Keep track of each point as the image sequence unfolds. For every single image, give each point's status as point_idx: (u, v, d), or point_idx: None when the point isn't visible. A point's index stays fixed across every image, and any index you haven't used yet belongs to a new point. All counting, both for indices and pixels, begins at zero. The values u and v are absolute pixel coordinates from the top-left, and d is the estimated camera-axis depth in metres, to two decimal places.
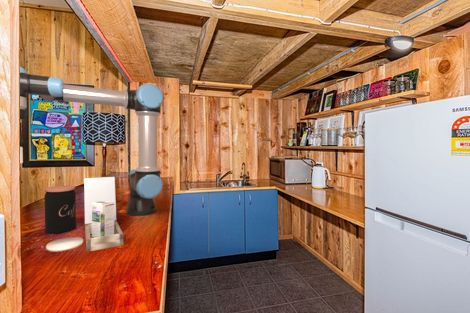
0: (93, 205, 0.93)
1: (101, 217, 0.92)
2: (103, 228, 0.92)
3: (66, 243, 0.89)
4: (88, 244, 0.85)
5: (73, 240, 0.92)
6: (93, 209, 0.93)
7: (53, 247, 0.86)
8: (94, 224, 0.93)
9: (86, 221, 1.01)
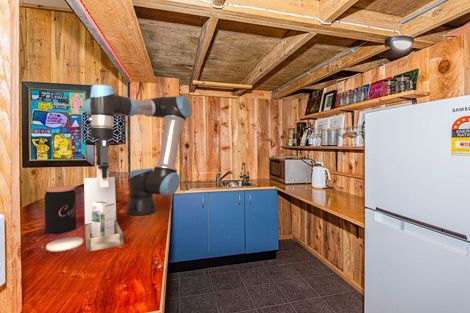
0: (93, 205, 0.93)
1: (101, 217, 0.92)
2: (103, 228, 0.92)
3: (66, 243, 0.89)
4: (88, 244, 0.85)
5: (73, 240, 0.92)
6: (93, 209, 0.93)
7: (53, 247, 0.86)
8: (94, 224, 0.93)
9: (86, 221, 1.01)
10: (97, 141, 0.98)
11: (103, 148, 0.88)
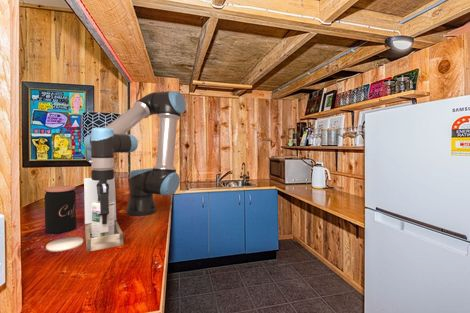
0: (93, 205, 0.93)
1: None
2: None
3: (66, 243, 0.89)
4: (88, 244, 0.85)
5: (73, 240, 0.92)
6: (93, 209, 0.93)
7: (53, 247, 0.86)
8: (94, 224, 0.93)
9: (86, 221, 1.01)
10: (98, 182, 0.99)
11: (103, 195, 0.89)
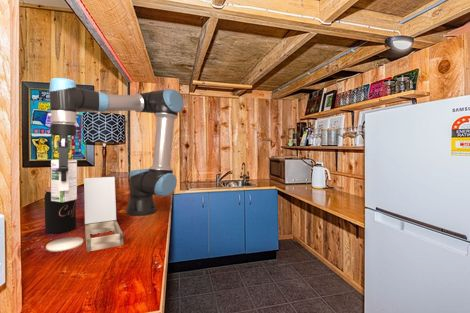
0: (52, 162, 0.87)
1: None
2: None
3: (66, 243, 0.89)
4: (88, 244, 0.85)
5: (73, 240, 0.92)
6: (52, 166, 0.87)
7: (53, 247, 0.86)
8: (54, 182, 0.86)
9: (86, 221, 1.01)
10: None
11: (62, 149, 0.83)
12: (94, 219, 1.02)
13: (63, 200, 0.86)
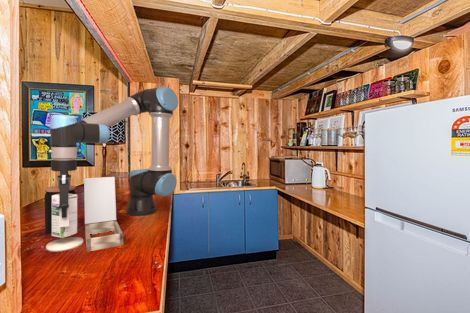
0: (53, 198, 0.87)
1: None
2: None
3: (66, 243, 0.89)
4: (88, 244, 0.85)
5: (73, 240, 0.92)
6: (53, 202, 0.87)
7: (53, 247, 0.86)
8: (54, 217, 0.87)
9: (86, 221, 1.01)
10: None
11: (62, 186, 0.83)
12: (94, 219, 1.02)
13: (63, 236, 0.87)
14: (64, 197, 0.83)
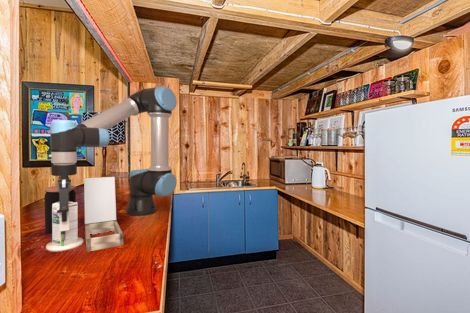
0: (53, 206, 0.88)
1: None
2: None
3: None
4: (88, 244, 0.85)
5: None
6: (53, 210, 0.88)
7: (53, 247, 0.86)
8: (55, 226, 0.87)
9: (86, 221, 1.01)
10: None
11: (62, 190, 0.83)
12: (94, 219, 1.02)
13: (64, 244, 0.87)
14: (64, 201, 0.83)
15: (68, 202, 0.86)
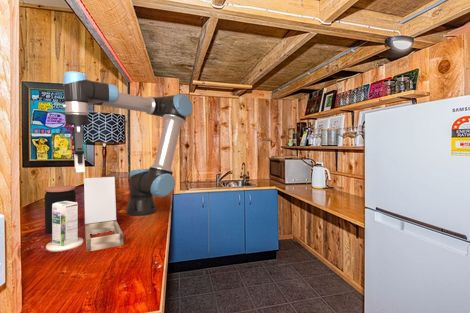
0: (53, 206, 0.88)
1: (61, 218, 0.86)
2: (64, 230, 0.87)
3: None
4: (88, 244, 0.85)
5: None
6: (53, 210, 0.88)
7: (53, 247, 0.86)
8: (55, 226, 0.87)
9: (86, 221, 1.01)
10: (73, 128, 0.99)
11: (78, 134, 0.89)
12: (94, 219, 1.02)
13: (64, 244, 0.87)
14: (80, 143, 0.89)
15: None
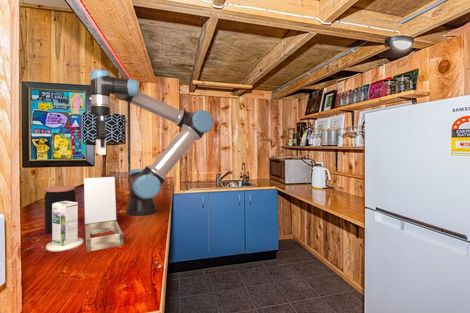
0: (53, 206, 0.88)
1: (61, 218, 0.86)
2: (64, 230, 0.87)
3: None
4: (88, 244, 0.85)
5: None
6: (53, 210, 0.88)
7: (53, 247, 0.86)
8: (55, 226, 0.87)
9: (86, 221, 1.01)
10: (96, 118, 1.16)
11: (101, 122, 1.05)
12: (94, 219, 1.02)
13: (64, 244, 0.87)
14: (103, 129, 1.04)
15: None
